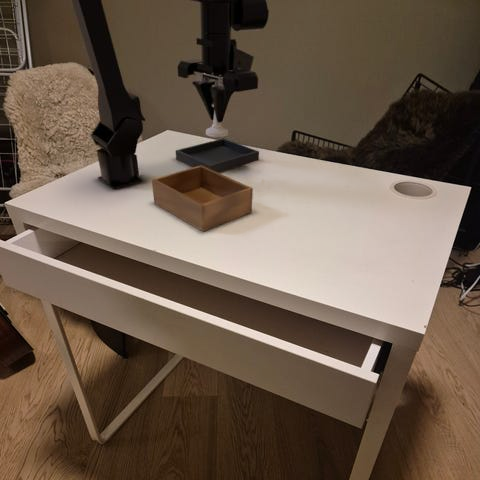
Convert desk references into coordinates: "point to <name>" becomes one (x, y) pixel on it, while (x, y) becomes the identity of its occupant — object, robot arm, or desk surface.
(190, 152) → the tray
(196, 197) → the wooden box
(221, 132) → the chess piece
